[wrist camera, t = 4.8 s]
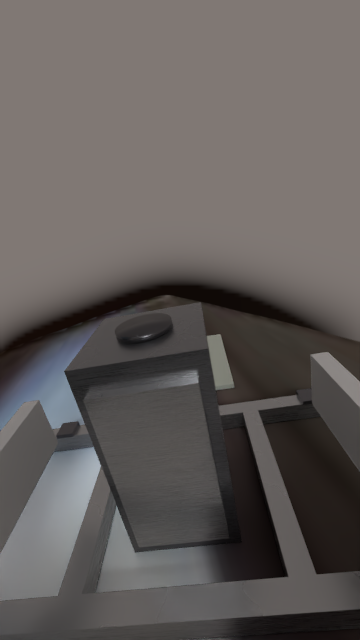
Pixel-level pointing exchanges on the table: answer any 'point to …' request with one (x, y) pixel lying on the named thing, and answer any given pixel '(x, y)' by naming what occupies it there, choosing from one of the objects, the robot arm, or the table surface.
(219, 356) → the pad
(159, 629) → the rail frame
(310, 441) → the table surface
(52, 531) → the table surface
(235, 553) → the table surface
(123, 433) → the tall box with knob
